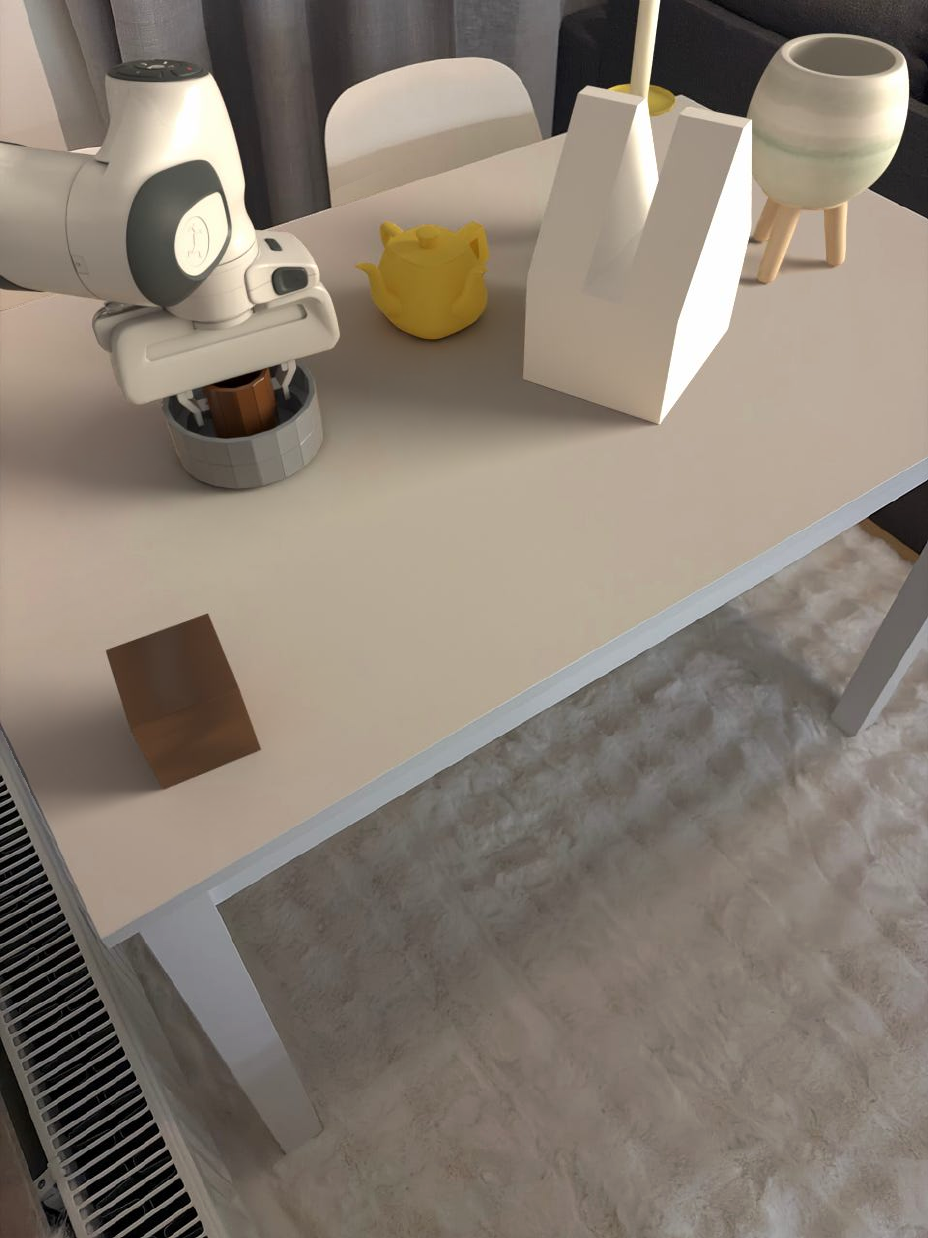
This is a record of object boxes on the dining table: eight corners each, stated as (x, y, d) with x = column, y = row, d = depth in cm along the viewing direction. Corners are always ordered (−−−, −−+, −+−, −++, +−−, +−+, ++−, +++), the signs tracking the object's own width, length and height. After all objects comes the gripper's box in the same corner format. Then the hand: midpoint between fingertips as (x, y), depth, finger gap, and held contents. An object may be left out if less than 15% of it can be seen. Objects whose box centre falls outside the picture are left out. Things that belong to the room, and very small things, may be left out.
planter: (732, 219, 117) (774, 19, 100) (863, 240, 113) (930, 35, 96) (705, 283, 107) (747, 74, 90) (847, 308, 103) (919, 95, 86)
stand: (163, 790, 66) (129, 729, 60) (138, 713, 70) (105, 650, 64) (261, 749, 68) (238, 687, 62) (231, 677, 72) (208, 612, 66)
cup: (229, 467, 87) (209, 398, 81) (211, 430, 91) (191, 362, 85) (290, 447, 89) (276, 378, 83) (270, 412, 93) (255, 344, 86)
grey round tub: (201, 510, 84) (185, 460, 80) (162, 424, 93) (145, 374, 88) (345, 463, 88) (337, 413, 84) (295, 384, 96) (285, 334, 92)
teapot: (363, 347, 100) (353, 262, 93) (382, 281, 109) (374, 198, 101) (488, 352, 99) (488, 267, 92) (497, 285, 108) (498, 202, 100)
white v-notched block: (659, 424, 91) (705, 169, 72) (523, 378, 96) (532, 129, 77) (727, 328, 101) (784, 83, 82) (601, 291, 107) (627, 53, 87)
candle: (677, 225, 116) (730, -91, 91) (633, 257, 111) (676, -67, 86) (612, 201, 120) (645, -106, 95) (567, 231, 116) (589, -85, 91)
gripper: (92, 326, 72) (143, 461, 83) (335, 262, 77) (353, 396, 88) (76, 288, 75) (127, 422, 86) (309, 229, 81) (330, 362, 92)
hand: (243, 409), depth 87 cm, fingers closed on cup, 6 cm apart
